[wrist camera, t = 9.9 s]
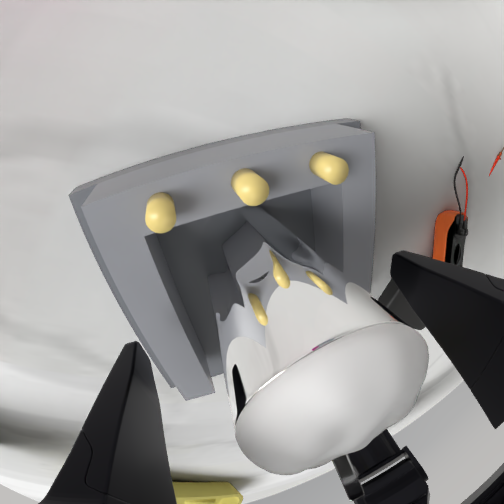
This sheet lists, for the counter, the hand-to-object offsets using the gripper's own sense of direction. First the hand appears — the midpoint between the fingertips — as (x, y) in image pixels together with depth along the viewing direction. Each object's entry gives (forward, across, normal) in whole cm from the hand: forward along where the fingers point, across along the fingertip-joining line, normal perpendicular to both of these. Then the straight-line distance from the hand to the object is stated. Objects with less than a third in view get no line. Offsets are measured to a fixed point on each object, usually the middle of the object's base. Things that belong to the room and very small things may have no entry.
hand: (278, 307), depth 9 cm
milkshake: (+4, 0, 0) cm, 4 cm away
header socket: (+5, 0, +2) cm, 5 cm away
